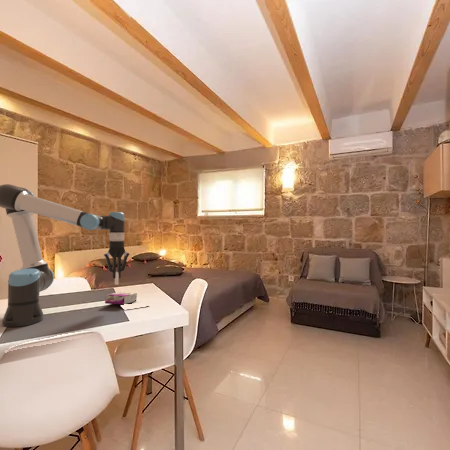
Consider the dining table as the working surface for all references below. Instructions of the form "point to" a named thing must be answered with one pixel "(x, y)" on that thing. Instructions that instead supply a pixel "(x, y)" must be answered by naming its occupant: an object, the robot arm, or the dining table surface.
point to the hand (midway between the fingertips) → (116, 284)
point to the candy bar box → (120, 298)
